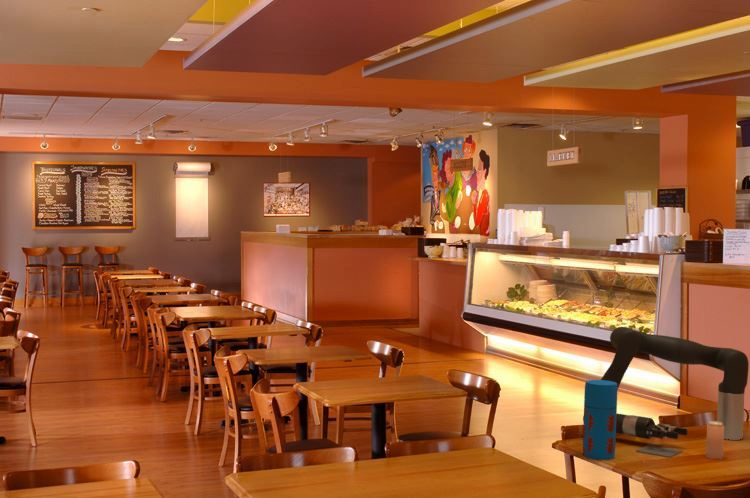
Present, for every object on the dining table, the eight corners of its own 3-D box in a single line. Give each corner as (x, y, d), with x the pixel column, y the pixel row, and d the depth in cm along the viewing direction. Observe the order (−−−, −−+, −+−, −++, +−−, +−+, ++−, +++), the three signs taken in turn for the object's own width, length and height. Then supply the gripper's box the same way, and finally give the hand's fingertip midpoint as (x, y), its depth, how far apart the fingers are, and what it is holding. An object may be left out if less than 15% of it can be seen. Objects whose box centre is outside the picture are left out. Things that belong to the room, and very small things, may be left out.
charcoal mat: (649, 445, 339) (649, 444, 339) (682, 451, 332) (682, 450, 332) (636, 451, 330) (636, 450, 330) (669, 457, 322) (669, 456, 322)
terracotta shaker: (709, 454, 329) (710, 420, 329) (725, 457, 325) (726, 422, 325) (703, 457, 325) (704, 422, 324) (719, 460, 321) (721, 424, 321)
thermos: (612, 452, 327) (615, 380, 326) (617, 460, 316) (620, 385, 316) (580, 451, 328) (583, 379, 327) (584, 458, 317) (586, 384, 317)
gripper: (630, 419, 336) (675, 426, 326) (646, 413, 347) (690, 420, 337) (629, 440, 336) (674, 448, 326) (645, 433, 347) (689, 441, 337)
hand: (682, 434), depth 332 cm, fingers open, 8 cm apart
